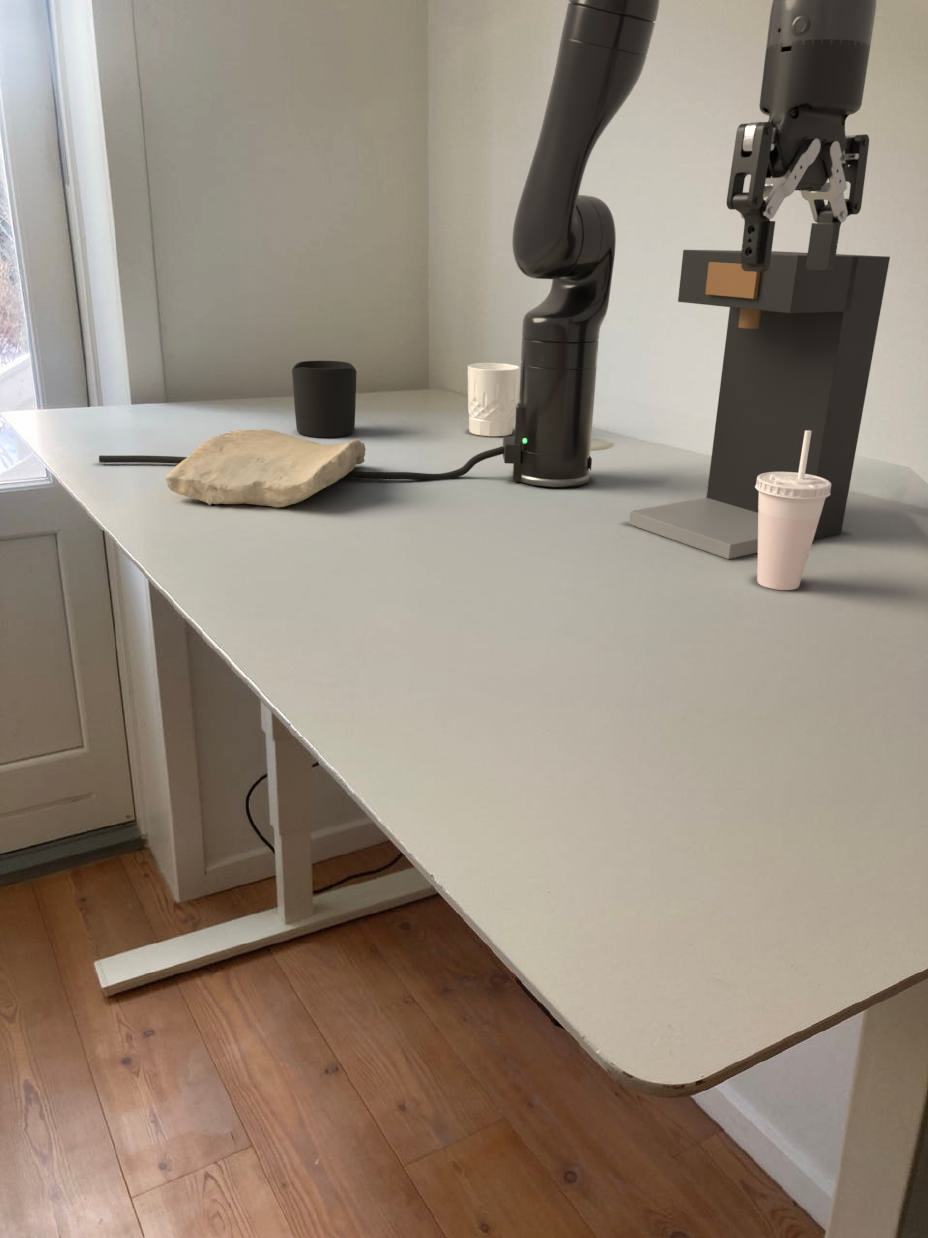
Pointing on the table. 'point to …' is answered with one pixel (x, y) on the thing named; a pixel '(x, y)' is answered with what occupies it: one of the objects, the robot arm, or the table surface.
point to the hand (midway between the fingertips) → (787, 270)
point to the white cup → (492, 398)
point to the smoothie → (788, 522)
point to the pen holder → (324, 398)
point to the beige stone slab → (262, 468)
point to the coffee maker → (778, 387)
